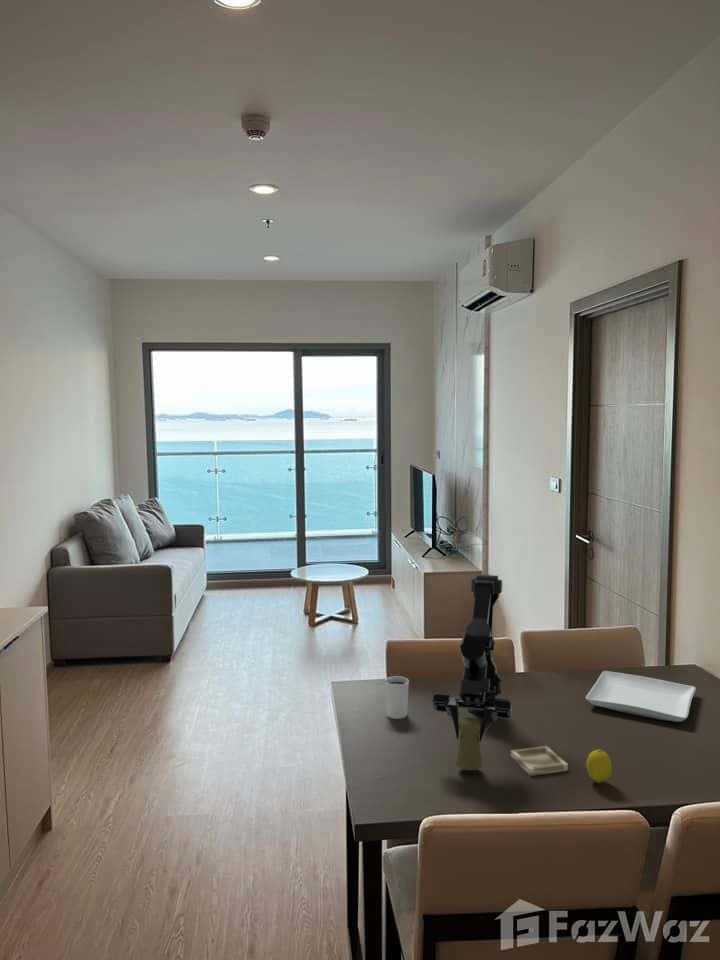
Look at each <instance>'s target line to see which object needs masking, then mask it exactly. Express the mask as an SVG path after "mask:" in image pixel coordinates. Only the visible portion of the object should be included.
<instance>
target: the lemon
mask: <svg viewBox="0 0 720 960" xmlns="http://www.w3.org/2000/svg"><path fill="white" fill-rule="evenodd" d="M612 766H613V765H612V760H611V758H610V756H609V754H608V753H606V752H605V751H604V750H602V749H601V748H600V749H596V750H593V751H591V752H590V753H589V755H588V757H587V758H586V766H585V767H586V772H587V774H588V776H589V777H590V778H591V780H594V781H595V782H596V784H600V783H602V782H605V781H607V780H608V779H609V778H610V776H611V774H612Z"/></svg>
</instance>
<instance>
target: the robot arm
mask: <svg viewBox="0 0 720 960" xmlns="http://www.w3.org/2000/svg"><path fill="white" fill-rule="evenodd" d="M470 585H471V587H470V592H472V593H473V597H474V604H473V612H472V621H471V622H470V623H469V624H467V625H466V630H465V634H463V635H462V638H461V641H460V645H459V647H460V653H461V658H462V663H463V674H462V679H461V680H460V687H459V697H460V699H459V698H458V699H457V698H453V697H451V693H449V692H439V691H436V692H435V693H434V694H433V695H432V706H433V709H434V711H436V712H441V713H446V715H447V716H449V717H451V719H452V722H453V726H454V730H455V736H456V740H460V730H459V723H460V711H459V709H460V708H461V709H468V712H470V713H472V714H474V715H476V716H478V717H479V718H482V722H481V724H480V725H481V730H480V733H479V743H482V741H483V739H484V737H485V735H486V733H487V731H488V729H489V728H490V726H491V725H492V723H493V722H495V721H496V722H497V721H498V719H507V720H510V719H512V710H513V709H512V708H513V707H512V702H511V700H510V699H507V698H498V697H499V695H501V694H502V679H501V678H500V675H499V673H497V672H498V668H497V665H496V664H495V662H494V660H493V652H494V651H495V648H496V641H495V638H494V636H493V635H494V634H493V633H494V610H495V609H494V606H495V605H496V603H497V602H498V601H499V599H500V594H502V592H503V579H499V575H492V574H491V575H490V574H477V575H476V577H472V578H471V584H470ZM496 696H498V697H496Z"/></svg>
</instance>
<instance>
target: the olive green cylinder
mask: <svg viewBox="0 0 720 960" xmlns="http://www.w3.org/2000/svg"><path fill="white" fill-rule="evenodd" d="M481 725H482V724H481V722H480V721H479V720H478V719H476V718H475V717H474V718H473V717H464V718H462V719H461V720H459V733H460V736H459V744H458V751H457V759H456V765H457V767H458V768H459V769H461V770H465V771H477V770H480V769H481V768H482V767H483V763H482V755H481V754H482V753H481V745H480V741H479V738H480V730H481Z"/></svg>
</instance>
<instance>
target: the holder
mask: <svg viewBox="0 0 720 960" xmlns="http://www.w3.org/2000/svg"><path fill="white" fill-rule="evenodd" d="M510 758H511V759H512V760H513V761H514V762H515V763H516V764H517V765H518V766H519V767H520V768H521V769H523V771H524V772H526V774H527V775H528V776H529V777H531V776H532V777H533V776H539V775H548V774H554V773H560V772H566V771H568V770H569V769H568V768H569V766H568V765H569V764H568V762H566V761H565V760H563V758H561V757H560V756H559V755H558V754H557V753H556V752H554V751H553V750H552V749H551V748H550V747H549V746H547V745H543V746H542V745H541V746H536V747H535V746H534V747H527V748H521V749H520V748H519V749H512V750H510Z"/></svg>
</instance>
